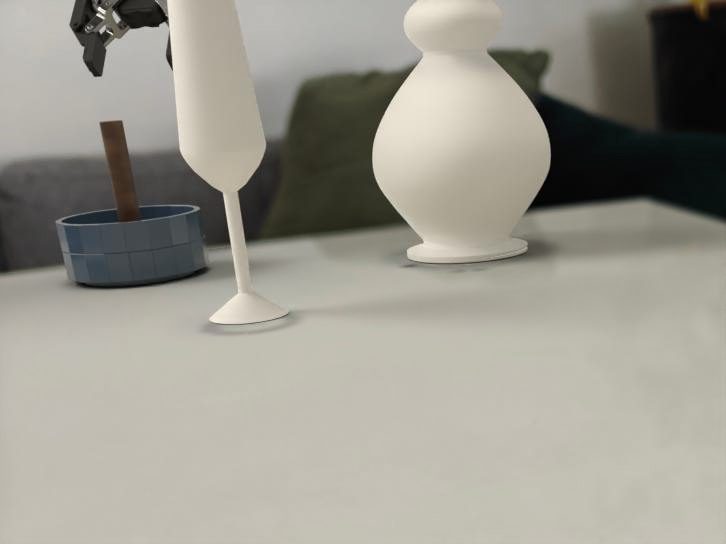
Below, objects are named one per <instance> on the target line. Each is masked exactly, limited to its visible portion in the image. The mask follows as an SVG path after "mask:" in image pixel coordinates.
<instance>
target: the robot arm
mask: <svg viewBox="0 0 726 544" xmlns="http://www.w3.org/2000/svg"><path fill="white" fill-rule="evenodd" d="M113 13H115V15H116V16H117V17H118V18H119V21H118V22H116V19H115V18H114V16H113V15H114V14H113ZM162 24H165V25H166V26H167V27H168V28H169V16H168V4H167V0H75V2H74V5H73V9H72V12H71V16H70V21H69V24H68V25H69V27H70V29H71V31H72V33H73V35H74V36H75V38H76V40H77V42H78V43H79V45H80V46H81V47H82V48H83V51H82V52H83V53H82V60H83V63H84V64H85V66H86V68H87V70H88V72H90V73H91V74H92V76H93V78H100V77H103V74H104V68H105V61H106V58H107V57H106V56H107V47H108V46H109V45H110V43H112V42H113V41H114V40H115V39H118V40H121V39H122V38H123V37H124V36H125V35H126V34H127V33H128V32H129V31H130V30H138V29H141V28H146V27H147V28H152V29H153V28H160V25H162ZM104 26H105V30H104V31H102V32H100V30H101V29H102V28H104ZM165 59H166V61H167V63H168V66H169V67H170V70H171V71H172V72H173V63H172V52H171V40H170V29H169V31H168V37H167V43H166V50H165Z"/></svg>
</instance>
